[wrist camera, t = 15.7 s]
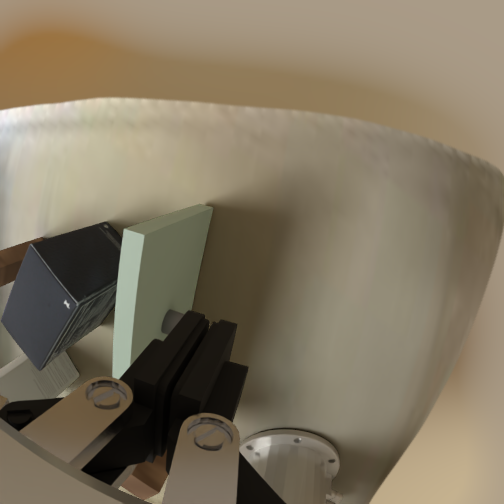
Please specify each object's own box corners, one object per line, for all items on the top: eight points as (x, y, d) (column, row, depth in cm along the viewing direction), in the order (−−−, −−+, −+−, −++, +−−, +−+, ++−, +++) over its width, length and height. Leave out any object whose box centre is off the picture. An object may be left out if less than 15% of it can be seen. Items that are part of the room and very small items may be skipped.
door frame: (208, 390, 32) (159, 492, 18) (193, 404, 32) (143, 500, 19) (41, 237, 31) (-56, 271, 17) (34, 256, 32) (-58, 294, 18)
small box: (104, 216, 29) (27, 238, 19) (149, 263, 29) (82, 305, 19) (62, 285, 32) (-4, 320, 22) (99, 327, 32) (40, 375, 22)
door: (189, 391, 31) (144, 473, 20) (167, 382, 32) (115, 460, 20) (229, 211, 26) (170, 243, 15) (200, 203, 27) (123, 228, 15)
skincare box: (50, 382, 37) (-14, 440, 23) (28, 346, 36) (-43, 398, 22) (83, 374, 35) (11, 444, 20) (58, 333, 34) (-24, 393, 20)
